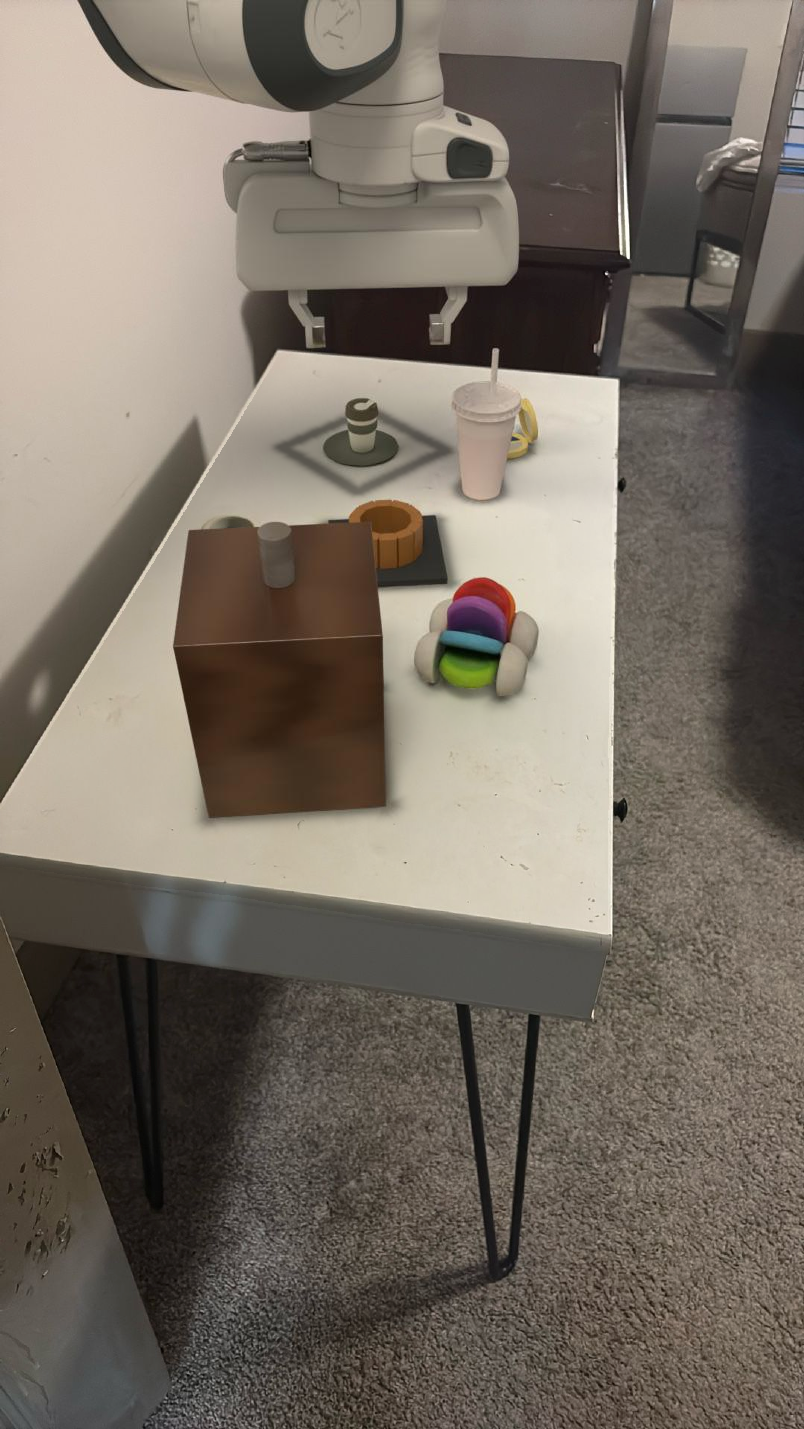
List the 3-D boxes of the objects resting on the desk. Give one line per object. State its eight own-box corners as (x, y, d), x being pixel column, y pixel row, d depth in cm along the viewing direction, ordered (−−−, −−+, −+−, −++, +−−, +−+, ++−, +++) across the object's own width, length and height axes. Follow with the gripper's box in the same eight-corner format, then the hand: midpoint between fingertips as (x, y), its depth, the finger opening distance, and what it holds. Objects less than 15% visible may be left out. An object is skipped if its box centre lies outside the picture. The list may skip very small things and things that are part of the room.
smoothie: (516, 507, 95) (528, 365, 85) (448, 507, 95) (453, 365, 85) (512, 473, 100) (523, 334, 90) (447, 472, 100) (452, 334, 90)
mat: (331, 589, 86) (331, 583, 85) (328, 525, 93) (328, 519, 93) (447, 583, 86) (447, 577, 86) (435, 520, 94) (435, 514, 93)
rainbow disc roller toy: (541, 639, 81) (550, 564, 76) (514, 718, 74) (522, 642, 69) (441, 619, 83) (443, 545, 78) (405, 694, 76) (405, 619, 71)
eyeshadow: (479, 440, 104) (482, 395, 101) (524, 434, 105) (528, 390, 102) (492, 460, 101) (495, 415, 98) (539, 454, 102) (543, 409, 99)
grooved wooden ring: (351, 570, 87) (350, 541, 85) (348, 529, 91) (347, 501, 89) (425, 567, 87) (425, 537, 85) (418, 526, 92) (418, 497, 90)
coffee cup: (282, 447, 104) (277, 402, 100) (369, 410, 109) (367, 366, 106) (357, 492, 97) (355, 445, 94) (445, 450, 103) (447, 405, 100)
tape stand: (208, 818, 67) (162, 596, 54) (217, 697, 76) (180, 482, 63) (386, 807, 68) (381, 586, 55) (375, 688, 77) (369, 474, 64)
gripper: (216, 155, 64) (239, 364, 73) (533, 151, 65) (515, 357, 75) (221, 129, 68) (242, 330, 78) (517, 126, 70) (501, 323, 79)
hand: (377, 343), depth 76 cm, fingers open, 8 cm apart
